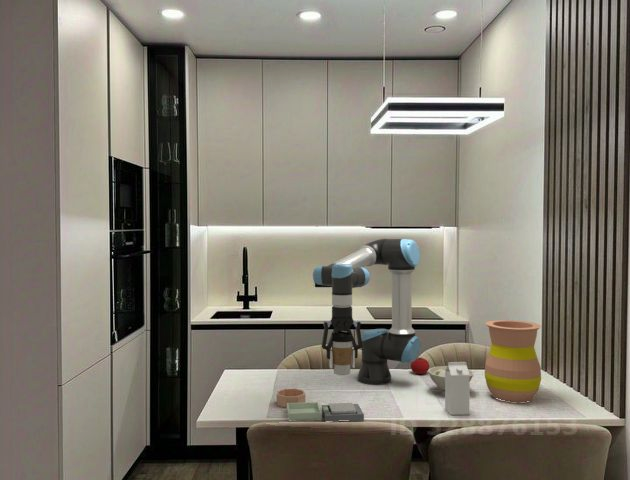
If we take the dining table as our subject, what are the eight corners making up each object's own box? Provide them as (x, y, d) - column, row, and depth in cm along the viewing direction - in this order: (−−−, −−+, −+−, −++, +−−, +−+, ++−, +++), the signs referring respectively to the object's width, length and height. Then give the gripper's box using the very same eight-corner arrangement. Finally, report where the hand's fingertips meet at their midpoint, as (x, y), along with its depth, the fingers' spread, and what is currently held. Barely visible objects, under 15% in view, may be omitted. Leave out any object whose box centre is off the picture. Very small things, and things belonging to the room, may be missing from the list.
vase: (482, 402, 222) (483, 327, 222) (485, 387, 243) (486, 318, 242) (542, 408, 215) (542, 331, 214) (540, 392, 236) (540, 321, 235)
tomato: (410, 370, 271) (410, 354, 271) (428, 371, 270) (428, 355, 270) (410, 375, 262) (410, 358, 262) (429, 376, 261) (430, 359, 261)
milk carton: (444, 409, 214) (445, 360, 214) (462, 408, 215) (463, 359, 214) (450, 415, 207) (451, 364, 207) (469, 414, 208) (469, 364, 207)
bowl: (466, 402, 222) (466, 377, 222) (420, 394, 232) (420, 371, 232) (479, 390, 239) (479, 367, 238) (436, 383, 249) (436, 361, 249)
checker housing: (357, 410, 213) (357, 402, 213) (363, 421, 201) (363, 412, 201) (321, 411, 212) (321, 403, 212) (325, 422, 200) (325, 414, 200)
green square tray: (318, 408, 215) (318, 402, 215) (322, 419, 203) (321, 412, 203) (286, 410, 213) (286, 403, 213) (288, 421, 201) (288, 413, 201)
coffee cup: (338, 369, 212) (338, 329, 212) (357, 372, 207) (357, 332, 207) (326, 373, 205) (326, 333, 205) (345, 377, 200) (345, 335, 200)
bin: (303, 398, 228) (303, 388, 228) (306, 407, 217) (306, 396, 216) (276, 399, 226) (276, 389, 226) (277, 408, 215) (277, 397, 215)
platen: (352, 405, 211) (352, 402, 211) (356, 413, 202) (356, 410, 202) (328, 406, 210) (328, 403, 210) (331, 414, 201) (331, 411, 201)
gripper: (367, 304, 210) (367, 364, 211) (313, 304, 208) (313, 365, 209) (371, 306, 203) (371, 369, 203) (315, 307, 201) (315, 370, 201)
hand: (342, 367), depth 206 cm, fingers closed on coffee cup, 8 cm apart
